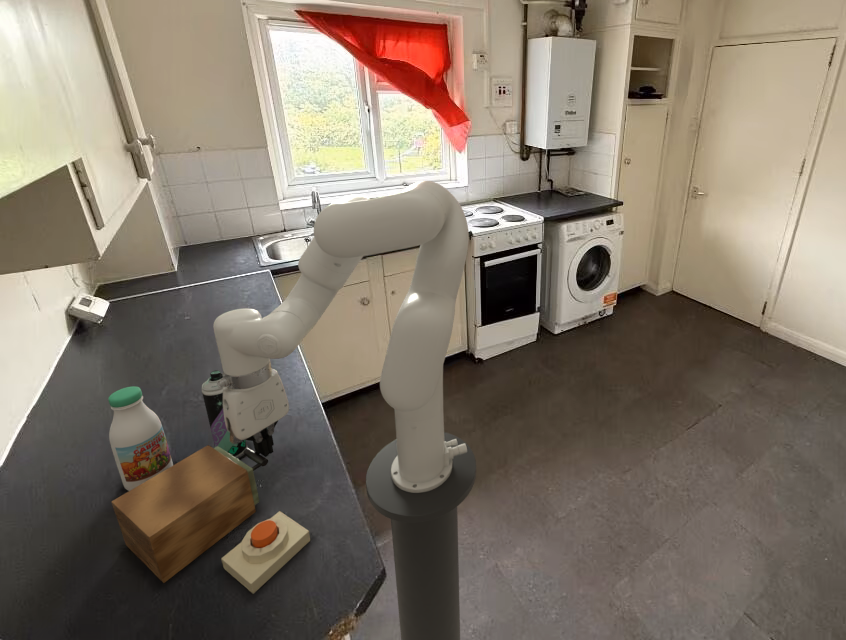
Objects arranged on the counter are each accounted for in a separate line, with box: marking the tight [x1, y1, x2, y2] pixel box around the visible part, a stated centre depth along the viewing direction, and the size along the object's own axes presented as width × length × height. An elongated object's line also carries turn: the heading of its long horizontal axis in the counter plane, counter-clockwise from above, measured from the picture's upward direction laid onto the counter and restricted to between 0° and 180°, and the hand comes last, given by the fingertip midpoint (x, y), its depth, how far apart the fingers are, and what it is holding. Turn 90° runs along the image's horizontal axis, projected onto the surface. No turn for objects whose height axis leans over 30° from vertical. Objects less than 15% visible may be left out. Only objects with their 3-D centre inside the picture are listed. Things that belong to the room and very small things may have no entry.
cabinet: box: [111, 444, 257, 584], centre depth 73 cm, size 15×13×10 cm
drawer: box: [213, 446, 269, 506], centre depth 76 cm, size 18×11×8 cm, turn 151°
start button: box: [251, 519, 278, 548], centre depth 69 cm, size 4×4×2 cm
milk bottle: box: [107, 385, 174, 492], centre depth 82 cm, size 8×8×20 cm
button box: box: [221, 510, 311, 595], centre depth 70 cm, size 10×8×4 cm
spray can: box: [201, 369, 248, 458], centre depth 89 cm, size 6×6×20 cm
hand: (265, 452), depth 85 cm, fingers closed
